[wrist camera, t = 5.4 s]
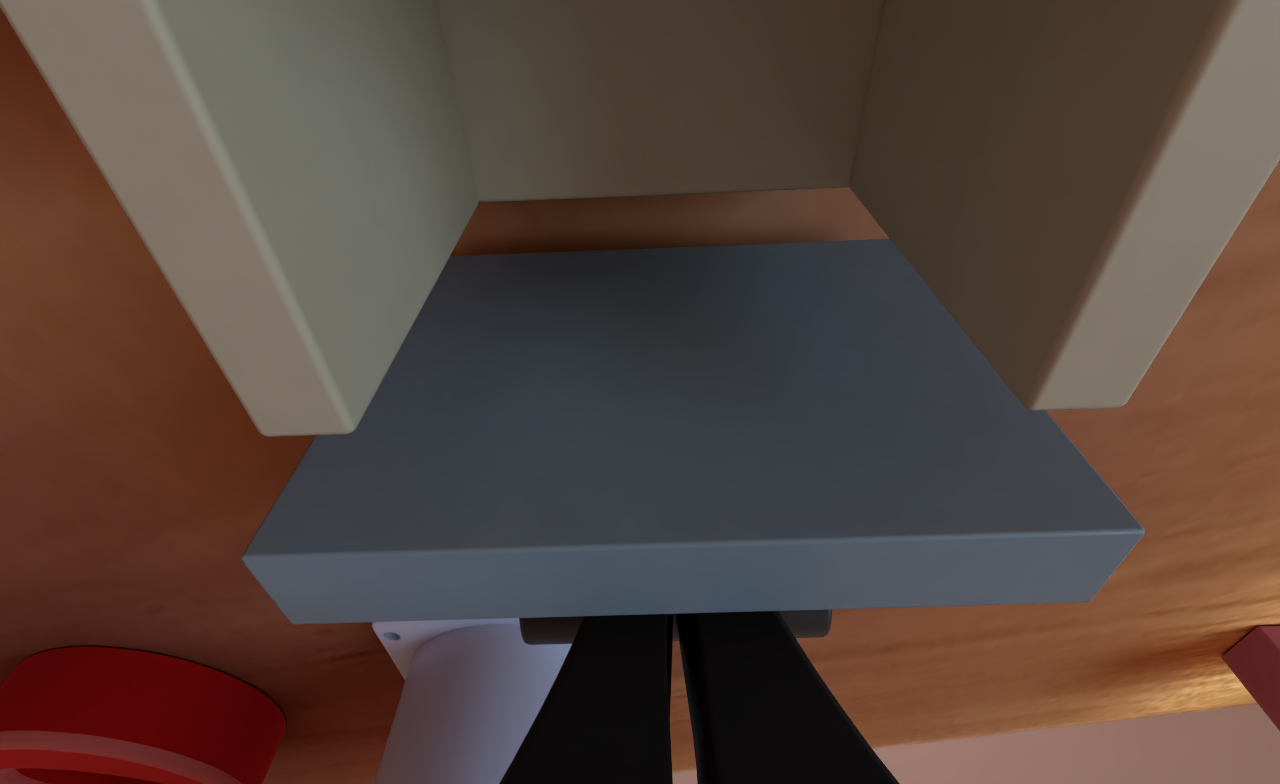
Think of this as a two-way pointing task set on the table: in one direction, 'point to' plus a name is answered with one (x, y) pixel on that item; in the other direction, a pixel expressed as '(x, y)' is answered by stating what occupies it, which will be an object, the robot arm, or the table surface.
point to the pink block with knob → (1259, 667)
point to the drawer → (676, 282)
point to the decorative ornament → (132, 721)
